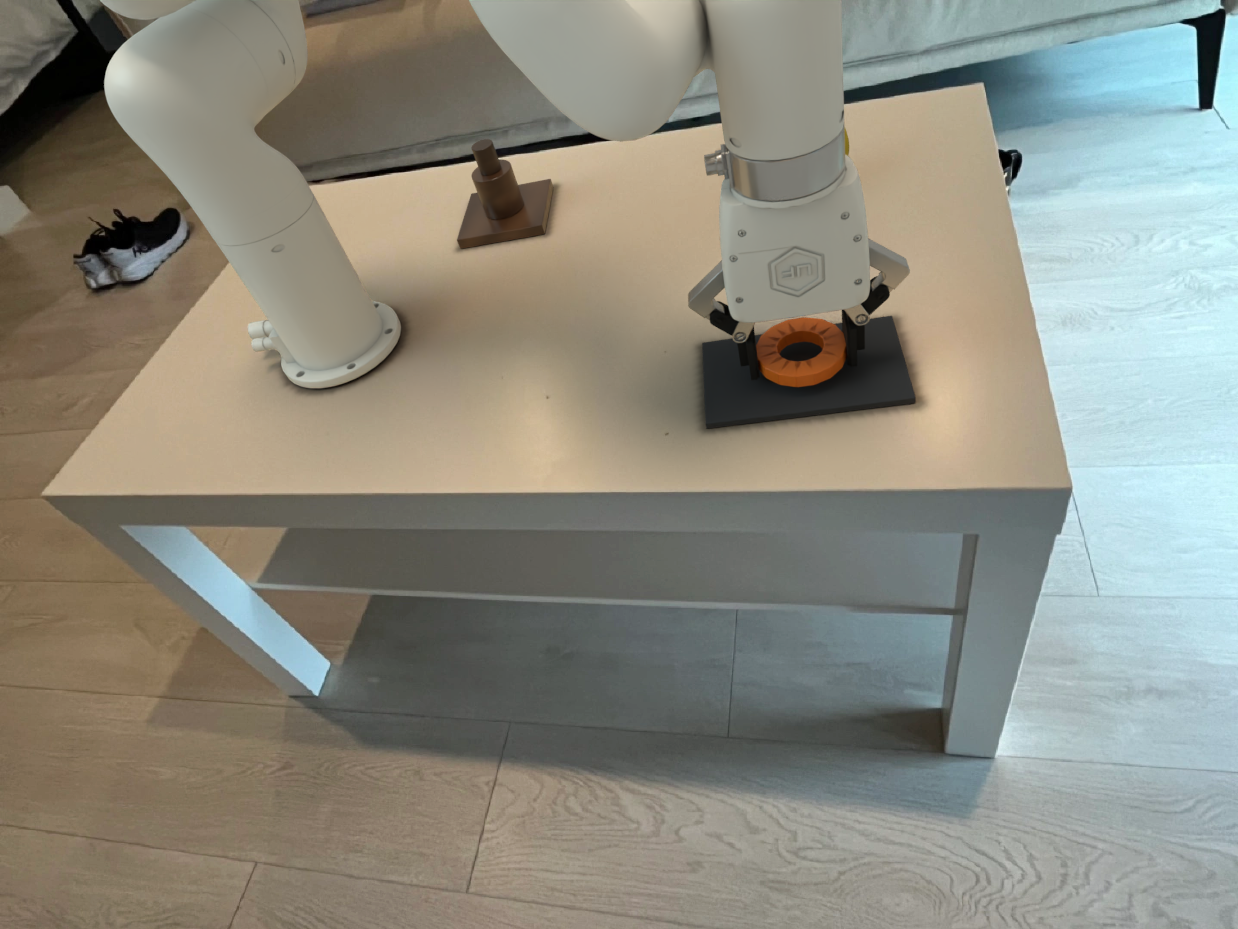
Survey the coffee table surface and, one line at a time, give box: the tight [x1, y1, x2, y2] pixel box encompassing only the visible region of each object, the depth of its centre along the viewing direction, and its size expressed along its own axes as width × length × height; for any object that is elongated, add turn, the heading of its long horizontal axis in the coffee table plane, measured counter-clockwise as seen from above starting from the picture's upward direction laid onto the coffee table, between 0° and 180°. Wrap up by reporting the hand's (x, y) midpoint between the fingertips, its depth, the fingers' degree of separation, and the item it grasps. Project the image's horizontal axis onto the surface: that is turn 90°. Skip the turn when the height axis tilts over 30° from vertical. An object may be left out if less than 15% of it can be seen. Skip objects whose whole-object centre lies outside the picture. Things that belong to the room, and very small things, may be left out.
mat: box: [701, 315, 917, 429], centre depth 67 cm, size 16×10×1 cm, turn 88°
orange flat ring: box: [756, 316, 847, 387], centre depth 65 cm, size 7×7×1 cm
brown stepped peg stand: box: [456, 138, 554, 250], centre depth 91 cm, size 10×10×9 cm
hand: (801, 360), depth 66 cm, fingers closed on orange flat ring, 7 cm apart
